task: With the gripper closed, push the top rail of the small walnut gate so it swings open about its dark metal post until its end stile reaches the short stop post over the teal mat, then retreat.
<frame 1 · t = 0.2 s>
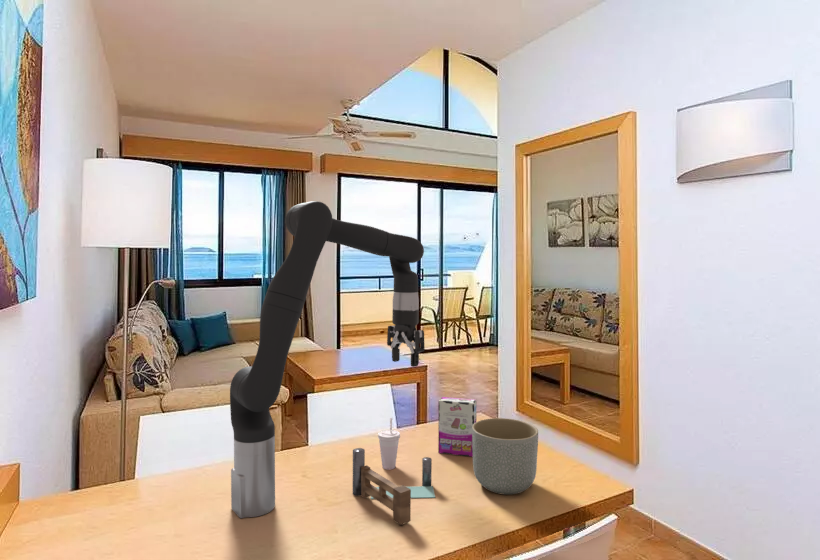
hand: (404, 363, 145), 29 cm above the table, fingers open, 8 cm apart
gate: (383, 493, 118), point 4 cm above the table, hinge at 0.0°
gatepost: (358, 493, 127), on the table
planter: (504, 486, 131), on the table
smoothie: (388, 467, 143), on the table
candy bar box: (457, 453, 154), on the table
open mat: (402, 492, 127), on the table
stop post: (426, 485, 131), on the table
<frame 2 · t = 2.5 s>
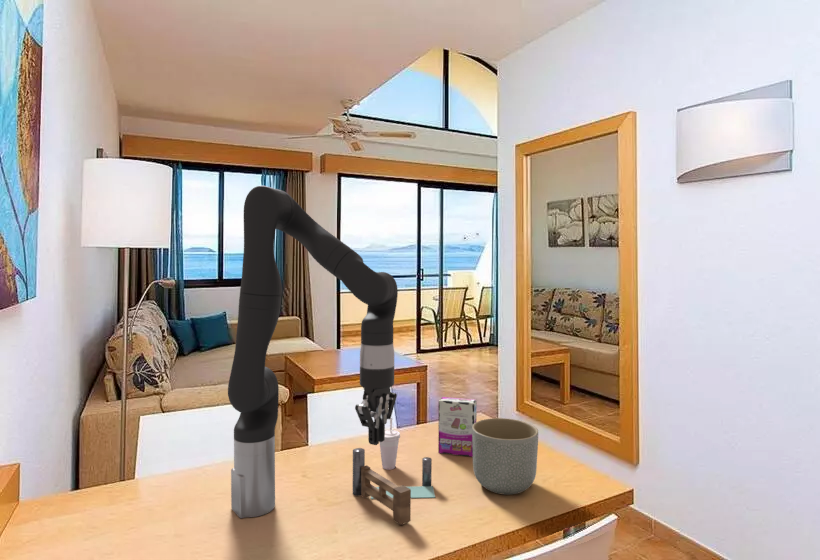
hand: (376, 442, 110), 19 cm above the table, fingers closed
nothing on the table moved.
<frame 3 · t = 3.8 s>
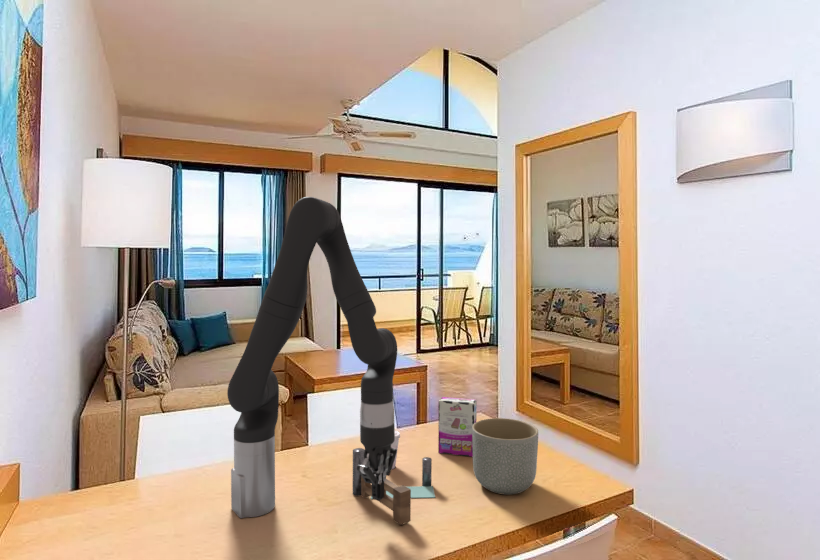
hand: (378, 498, 110), 6 cm above the table, fingers closed
nothing on the table moved.
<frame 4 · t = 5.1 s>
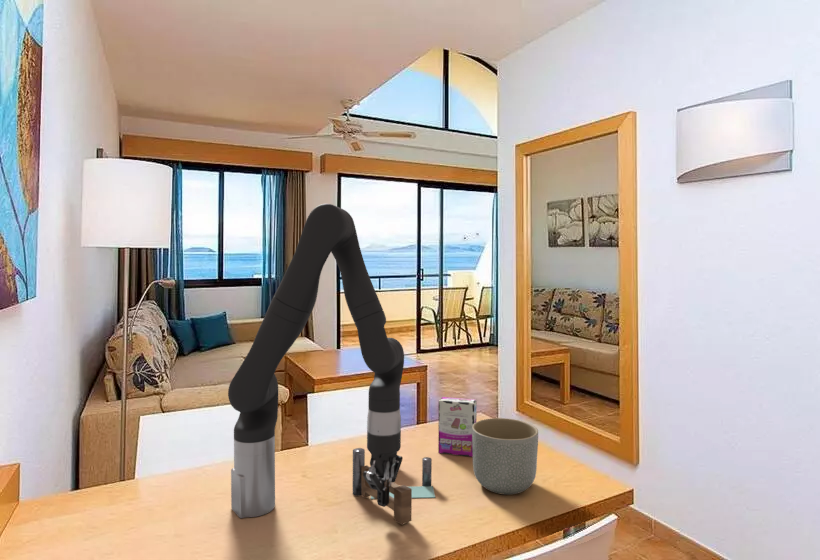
hand: (383, 504, 112), 4 cm above the table, fingers closed
gate: (384, 492, 118), point 4 cm above the table, hinge at 0.8°, touching gripper
everything else where it was.
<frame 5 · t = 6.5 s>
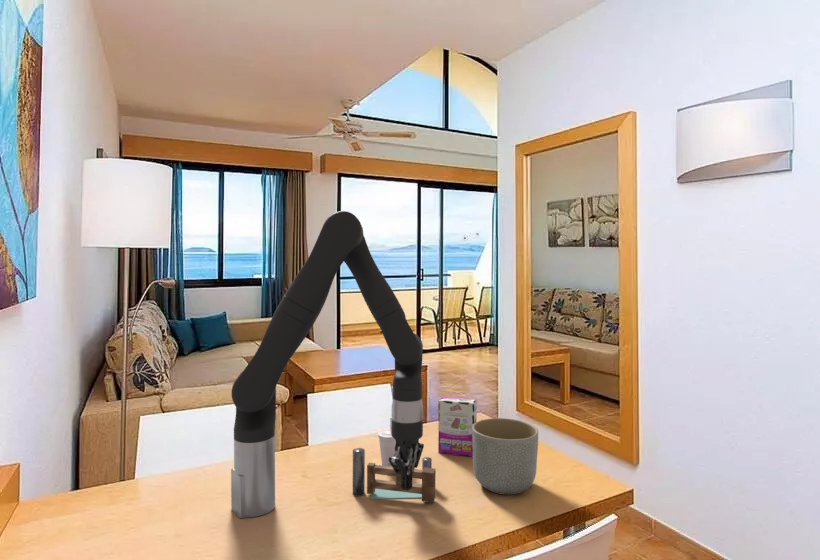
hand: (406, 488, 120), 4 cm above the table, fingers closed
gate: (400, 481, 124), point 4 cm above the table, hinge at 38.5°, touching gripper
everything else where it was.
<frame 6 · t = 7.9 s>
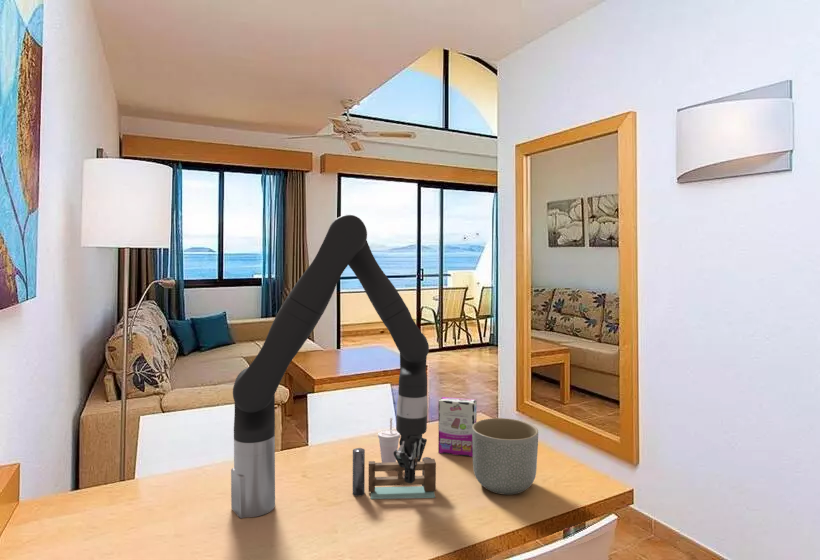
hand: (409, 481, 124), 4 cm above the table, fingers closed
gate: (401, 475, 127), point 4 cm above the table, hinge at 56.6°, touching gripper
everything else where it was.
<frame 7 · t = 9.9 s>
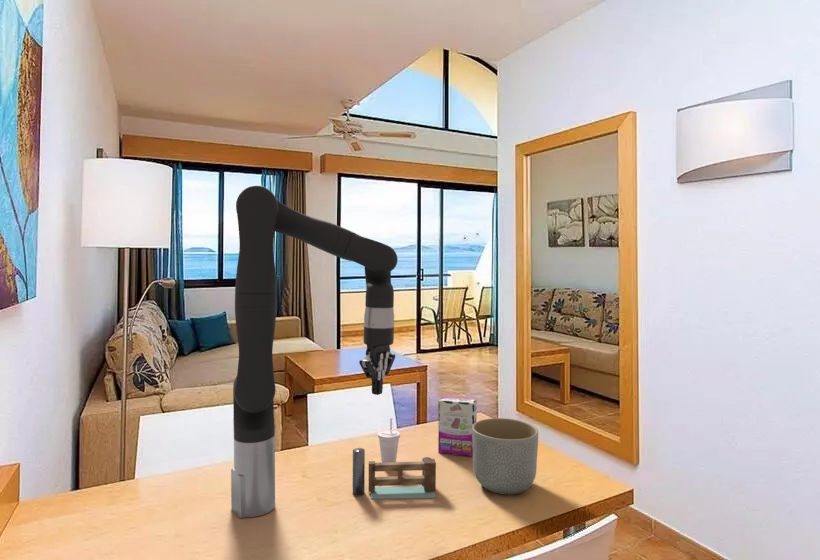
hand: (377, 393, 126), 25 cm above the table, fingers closed
gate: (401, 475, 127), point 4 cm above the table, hinge at 56.7°
everything else where it was.
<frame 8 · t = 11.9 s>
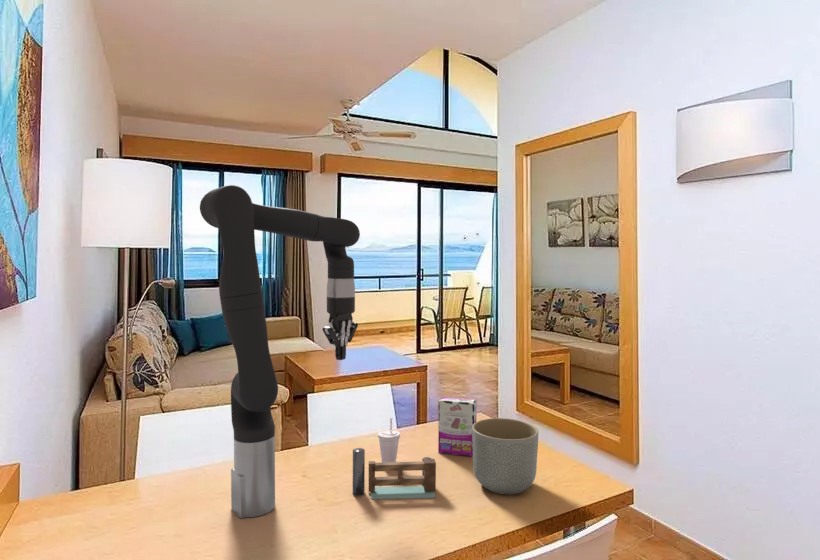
hand: (340, 359, 135), 32 cm above the table, fingers closed
nothing on the table moved.
at the end: gate at +57° (first picture: +0°); gate touching nothing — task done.
